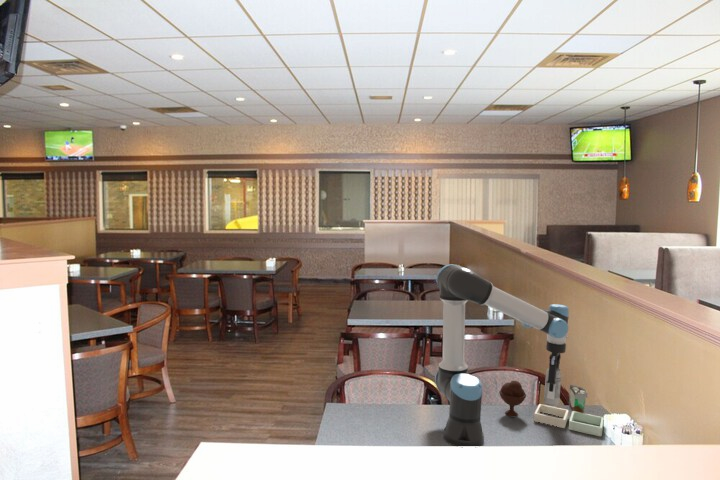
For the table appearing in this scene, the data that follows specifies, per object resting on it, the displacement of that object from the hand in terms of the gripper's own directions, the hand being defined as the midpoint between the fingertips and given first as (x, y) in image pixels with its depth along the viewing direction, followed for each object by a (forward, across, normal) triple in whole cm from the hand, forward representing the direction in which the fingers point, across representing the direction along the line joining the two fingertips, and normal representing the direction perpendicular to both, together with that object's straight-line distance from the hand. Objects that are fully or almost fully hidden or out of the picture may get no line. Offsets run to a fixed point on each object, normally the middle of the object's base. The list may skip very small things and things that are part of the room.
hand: (551, 395), depth 214 cm
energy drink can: (+4, 0, 0) cm, 4 cm away
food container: (+10, +16, -10) cm, 21 cm away
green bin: (+10, 0, -14) cm, 17 cm away
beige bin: (+10, 0, 0) cm, 10 cm away
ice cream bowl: (+11, -3, +15) cm, 19 cm away
